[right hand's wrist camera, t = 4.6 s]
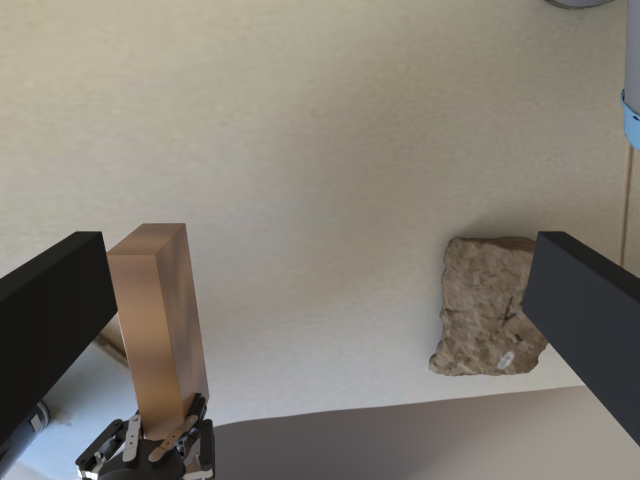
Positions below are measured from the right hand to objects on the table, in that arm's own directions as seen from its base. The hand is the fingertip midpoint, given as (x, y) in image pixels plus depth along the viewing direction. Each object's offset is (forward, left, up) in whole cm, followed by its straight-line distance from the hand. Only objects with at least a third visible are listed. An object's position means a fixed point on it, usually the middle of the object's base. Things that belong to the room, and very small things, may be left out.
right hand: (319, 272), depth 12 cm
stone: (-22, +24, -40) cm, 52 cm away
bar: (+18, +22, -31) cm, 42 cm away
